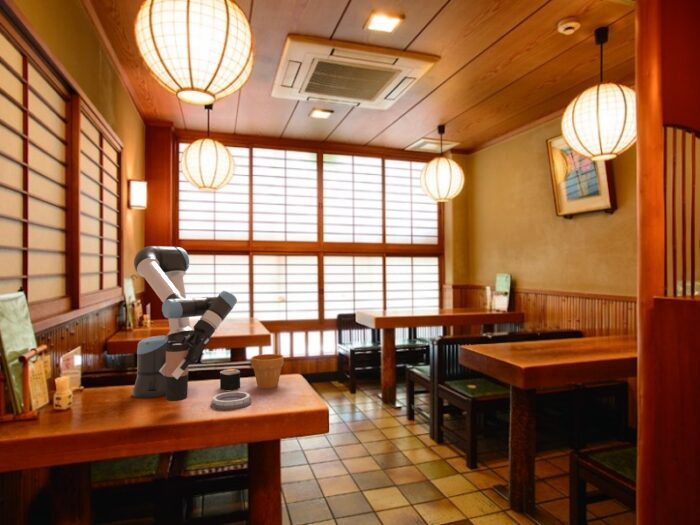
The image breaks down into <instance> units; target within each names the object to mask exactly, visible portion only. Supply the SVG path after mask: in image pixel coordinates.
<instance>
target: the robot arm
mask: <svg viewBox="0 0 700 525" xmlns="http://www.w3.org/2000/svg"><path fill="white" fill-rule="evenodd" d="M189 264H190V257H189V255H188V252H187V250H185V249H184V248H183V247H179V246H159V245H149V246H145V247H143V248H141V249H139V250H138V252H137V253H136V254H135V255H134V259H133V267H134V269H135V271H136V273H137V274H138V275H139V276H140V277H143V278H144V279H145V281H146V282H147V283H148V284H149V286H150V287H151V289H152V290H153V291H154V292H155V294H156V296H157V297H158V298H159V299H160V302H162V305H161V312H162V315H163V316H164V318H165V319H168V324H169V325H168V326H169V332H168V333H167V334H166V335H155V336H149V337H146V338H143V339H141V340H140V341H138V343H137V347H136V348H137V350H136V356H137V358H136V359H137V361H136V363H137V364H136V365H137V366H136V367H137V369H136V370H137V371H136V372H137V373H136V379H135V383H134V386H133V388H132V397H133V398H137V397H138V399H148V398H149V399H151V398H158V397H162V396H166V344H167V343H170V342H182V343H186V342H188V355H187V357H184V359H183V360H182V362H181V363H180V364H179V365H178V367H177V368H176V369H175V371H174V372H173V373H172V374H171V375H172V376H174V377H175V378H176V379H178V378H179V377H180V375H181V374H182V373H183V371H184V370H185V369H186V368H187V367H188V368H189V365H191V364H192V363H193V364H195V363H197V361H198V360H199V358H200V357H201V355H202V354H203V352H204V350H205V349H206V347H207V346H208V345H209V344H210V342H211V340H210V338H211V337H212V336H213V334H215V332H216V331H217V329H218V328H219V327H220V325H221V323H222V322H223V321H224V320H225V319H226V318H227V317H228V316H229V314H230V313H231V312H232V310H233V309H234V307H235V306H236V304H237V303H238V299H237V297H236V296H235V294H233V293H232V292H230V291H228V290H222V291H220V293H219V294H218V295H217V296H212V297H211V296H202V297H187V295H186V288H185V284H184V282H185V281H184V276H185V275H186V272H187V270H188V269H189V267H190V265H189ZM194 317H200V318H199V320H197V321H196V323H195V324H194V326H193V328H192V327H191V323H190V318H194ZM215 330H216V331H215ZM150 397H151V398H150Z"/></svg>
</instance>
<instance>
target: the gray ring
mask: <svg viewBox="0 0 700 525" xmlns="http://www.w3.org/2000/svg"><path fill="white" fill-rule="evenodd" d="M251 404H252V397H251V394H250V393H248V392H246V391H225V392H222V393H221V392H220V393H217V394H216V395H214V396H213V397H212V400H211V401H210V407H211V408H212V407H213V409H214V408H215V409H214V410H218V409H220V411H229V410H230V409H233V410H238V408H239V409H243V408H247V407H248V406H250V405H251ZM230 411H231V410H230Z"/></svg>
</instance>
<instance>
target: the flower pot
mask: <svg viewBox="0 0 700 525" xmlns="http://www.w3.org/2000/svg"><path fill="white" fill-rule="evenodd" d="M284 359H285V358H284V355H282V354H278V353H267V354H266V353H264V354H257V355H252V357H250V363H251V368H253V373H254V377H255V381H256V385H257V388H258V387H259V389H263V388H268V389H274V388H277V387H278V385H279V381H280V377H281V372H282V367H283V366H284ZM276 386H277V387H276ZM273 387H274V388H273Z"/></svg>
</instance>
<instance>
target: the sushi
mask: <svg viewBox="0 0 700 525" xmlns="http://www.w3.org/2000/svg"><path fill="white" fill-rule="evenodd" d="M219 373H220V375H219V376H220V377H219V378H220V379H219V383H220V384H219V388H220V390H222V391H226V390H231V391H234V389H235V390H238V388H239V389H240V388H241V370H239V369H236V368H228V369H223V370H221V371H219Z"/></svg>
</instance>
